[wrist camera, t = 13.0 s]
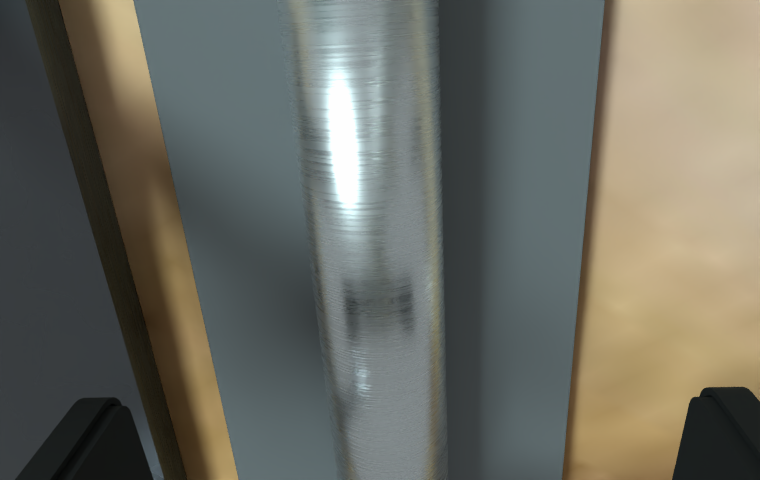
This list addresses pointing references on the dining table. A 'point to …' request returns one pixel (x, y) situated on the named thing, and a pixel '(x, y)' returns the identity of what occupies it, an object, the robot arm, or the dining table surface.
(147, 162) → the dining table surface
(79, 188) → the hook stands
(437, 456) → the steel rail
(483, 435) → the rubber mat
